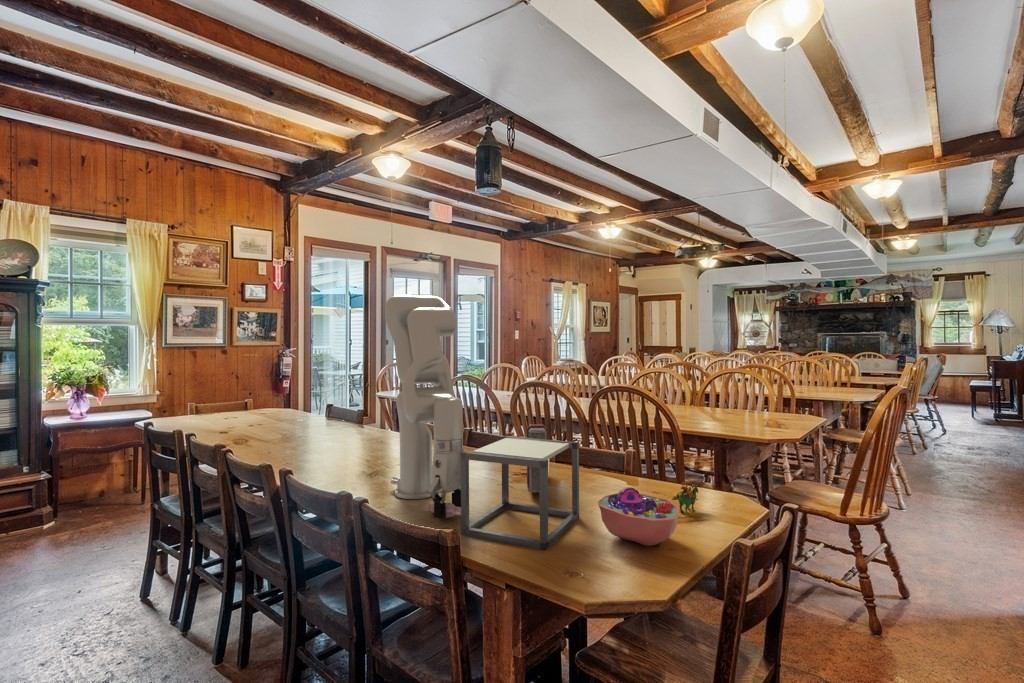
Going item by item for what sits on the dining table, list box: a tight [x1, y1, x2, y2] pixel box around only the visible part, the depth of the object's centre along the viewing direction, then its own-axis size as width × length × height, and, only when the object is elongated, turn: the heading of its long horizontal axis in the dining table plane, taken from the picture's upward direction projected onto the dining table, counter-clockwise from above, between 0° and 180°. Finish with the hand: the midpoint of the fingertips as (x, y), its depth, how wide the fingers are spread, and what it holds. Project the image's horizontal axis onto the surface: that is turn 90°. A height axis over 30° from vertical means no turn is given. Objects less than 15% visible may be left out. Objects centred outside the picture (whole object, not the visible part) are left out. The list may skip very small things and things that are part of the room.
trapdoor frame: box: [460, 435, 580, 551], centre depth 130 cm, size 22×23×20 cm
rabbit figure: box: [427, 493, 461, 519], centre depth 137 cm, size 6×6×15 cm
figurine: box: [671, 481, 699, 515], centre depth 139 cm, size 3×12×8 cm, turn 128°
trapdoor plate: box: [471, 438, 569, 461], centre depth 130 cm, size 18×19×1 cm
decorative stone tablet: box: [526, 424, 549, 493], centre depth 166 cm, size 19×6×30 cm
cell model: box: [597, 487, 680, 547], centre depth 121 cm, size 17×20×11 cm
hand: (448, 512), depth 137 cm, fingers open, 7 cm apart
